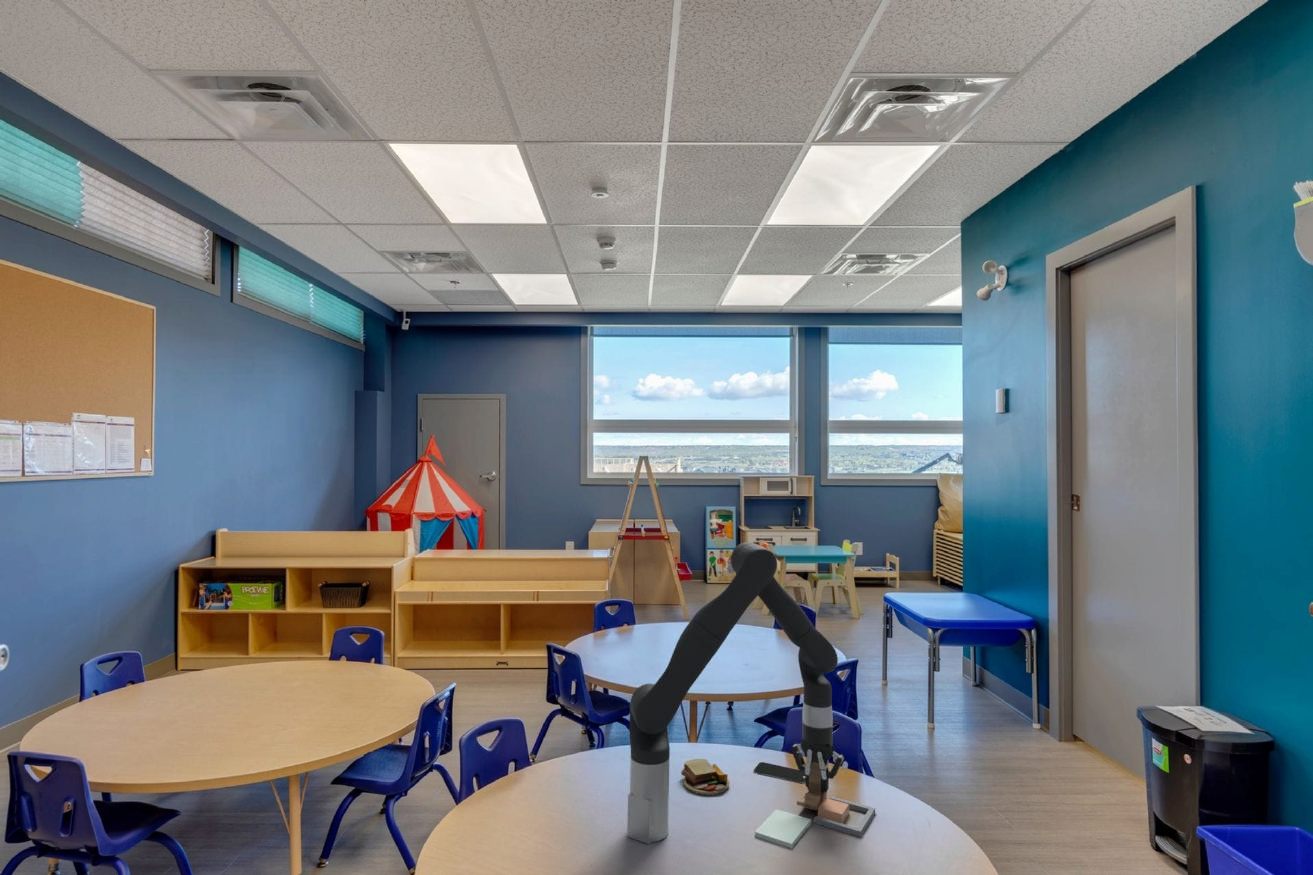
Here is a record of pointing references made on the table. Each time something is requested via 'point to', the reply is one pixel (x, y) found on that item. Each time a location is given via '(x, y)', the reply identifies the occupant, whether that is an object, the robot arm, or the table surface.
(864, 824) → the bay
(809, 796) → the brown block
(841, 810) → the tile
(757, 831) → the board
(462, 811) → the table surface
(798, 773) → the smartphone
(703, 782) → the toy sandwich meal
